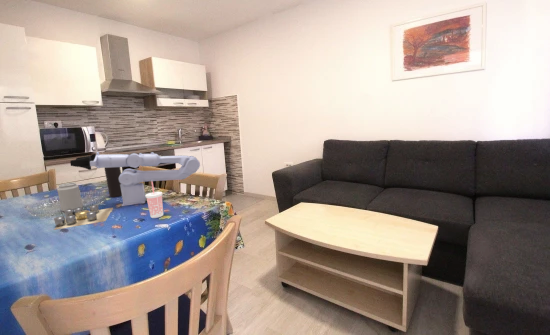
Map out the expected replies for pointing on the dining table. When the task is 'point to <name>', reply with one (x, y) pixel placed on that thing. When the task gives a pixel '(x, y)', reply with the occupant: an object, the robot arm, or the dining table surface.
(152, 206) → the beverage cup
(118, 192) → the bottle
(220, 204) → the dining table surface
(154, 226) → the dining table surface
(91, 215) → the metal pegs
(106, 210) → the board
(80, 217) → the gold dome
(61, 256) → the dining table surface
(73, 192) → the can
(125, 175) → the robot arm
